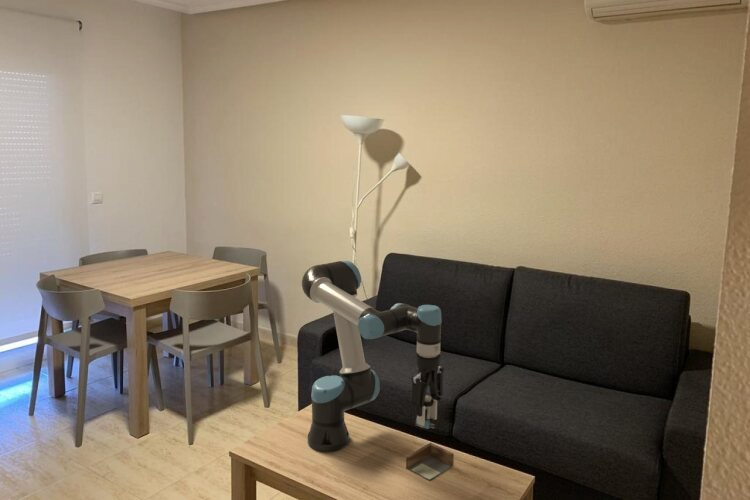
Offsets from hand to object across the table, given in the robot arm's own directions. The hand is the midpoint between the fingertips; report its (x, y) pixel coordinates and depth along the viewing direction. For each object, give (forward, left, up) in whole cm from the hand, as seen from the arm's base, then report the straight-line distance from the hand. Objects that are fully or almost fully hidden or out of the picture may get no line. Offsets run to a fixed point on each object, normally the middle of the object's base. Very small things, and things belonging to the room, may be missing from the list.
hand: (426, 420), depth 194 cm
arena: (-1, +4, -19) cm, 19 cm away
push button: (0, -1, -2) cm, 2 cm away
